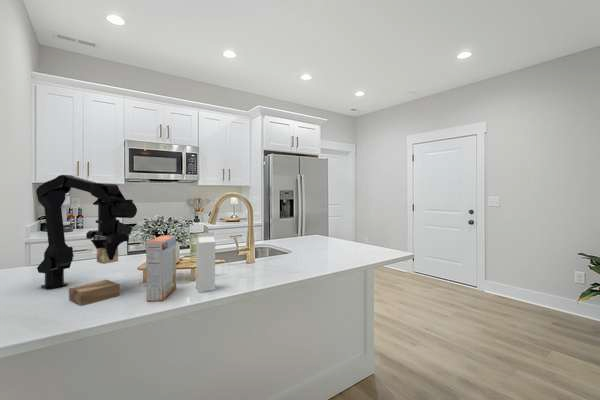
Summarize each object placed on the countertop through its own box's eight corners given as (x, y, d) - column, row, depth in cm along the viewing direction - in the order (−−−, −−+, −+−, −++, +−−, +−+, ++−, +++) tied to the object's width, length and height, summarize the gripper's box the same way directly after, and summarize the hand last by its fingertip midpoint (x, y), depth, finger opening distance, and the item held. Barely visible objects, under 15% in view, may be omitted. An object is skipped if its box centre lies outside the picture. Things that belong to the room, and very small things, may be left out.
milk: (214, 290, 113) (215, 233, 113) (198, 292, 110) (199, 234, 110) (211, 286, 118) (212, 231, 118) (195, 288, 116) (196, 232, 115)
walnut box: (69, 300, 101) (69, 287, 101) (107, 290, 111) (107, 279, 111) (80, 305, 96) (80, 292, 96) (119, 295, 106) (119, 283, 106)
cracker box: (160, 288, 114) (161, 234, 114) (176, 288, 115) (177, 234, 114) (144, 301, 100) (145, 240, 100) (163, 301, 101) (163, 240, 100)
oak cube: (96, 262, 109) (96, 248, 109) (111, 259, 113) (111, 246, 113) (103, 263, 107) (103, 250, 106) (118, 261, 111) (118, 248, 111)
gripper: (143, 217, 112) (143, 258, 112) (116, 214, 121) (116, 252, 122) (112, 219, 102) (112, 264, 103) (85, 216, 112) (85, 257, 112)
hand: (107, 258), depth 110 cm, fingers closed on oak cube, 5 cm apart
